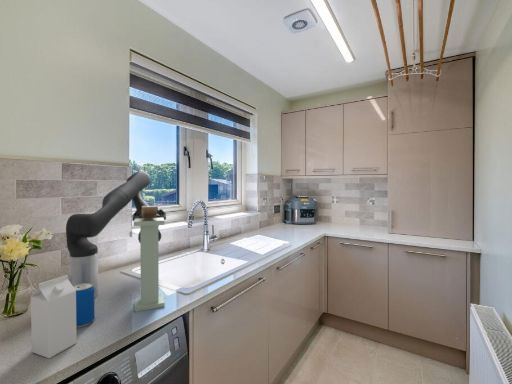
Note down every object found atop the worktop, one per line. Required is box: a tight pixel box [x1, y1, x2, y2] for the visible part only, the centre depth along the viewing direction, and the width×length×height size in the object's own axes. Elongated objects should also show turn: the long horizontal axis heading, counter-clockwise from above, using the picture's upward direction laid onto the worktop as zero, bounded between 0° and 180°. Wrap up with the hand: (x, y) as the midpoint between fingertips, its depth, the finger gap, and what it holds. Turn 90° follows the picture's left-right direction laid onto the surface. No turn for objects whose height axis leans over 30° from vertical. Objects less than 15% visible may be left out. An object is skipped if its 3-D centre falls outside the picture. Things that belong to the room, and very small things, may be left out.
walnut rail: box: [142, 205, 158, 218], centre depth 99 cm, size 16×5×4 cm, turn 22°
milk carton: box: [30, 274, 77, 359], centre depth 70 cm, size 7×7×19 cm
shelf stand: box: [133, 218, 166, 312], centre depth 95 cm, size 9×10×32 cm
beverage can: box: [74, 283, 96, 328], centre depth 82 cm, size 6×6×12 cm
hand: (149, 207), depth 101 cm, fingers closed on walnut rail, 3 cm apart
